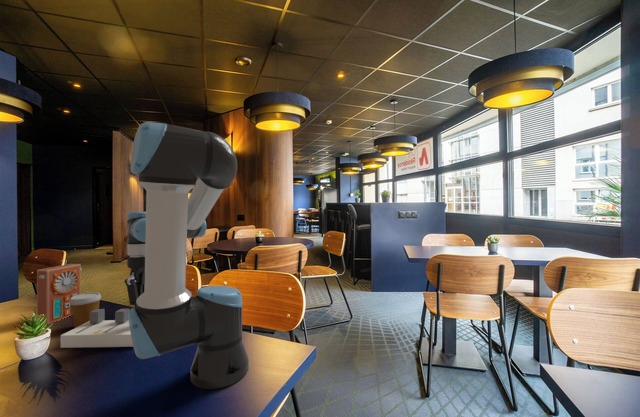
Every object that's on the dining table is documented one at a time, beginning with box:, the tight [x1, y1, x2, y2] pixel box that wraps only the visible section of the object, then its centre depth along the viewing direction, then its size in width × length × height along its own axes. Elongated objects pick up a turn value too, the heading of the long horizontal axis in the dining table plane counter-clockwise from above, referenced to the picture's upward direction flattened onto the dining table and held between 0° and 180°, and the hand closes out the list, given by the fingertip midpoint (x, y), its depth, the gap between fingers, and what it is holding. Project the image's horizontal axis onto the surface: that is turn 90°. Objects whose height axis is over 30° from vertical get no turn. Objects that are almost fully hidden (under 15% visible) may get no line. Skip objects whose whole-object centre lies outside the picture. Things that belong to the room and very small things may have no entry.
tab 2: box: [114, 308, 130, 323], centre depth 99 cm, size 3×3×4 cm
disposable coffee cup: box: [69, 291, 102, 329], centre depth 105 cm, size 10×10×12 cm
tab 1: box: [90, 308, 106, 323], centre depth 99 cm, size 3×3×4 cm
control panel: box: [36, 263, 83, 325], centre depth 114 cm, size 21×7×15 cm
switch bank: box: [60, 319, 134, 349], centre depth 95 cm, size 12×26×4 cm, turn 91°
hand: (140, 322), depth 96 cm, fingers closed
